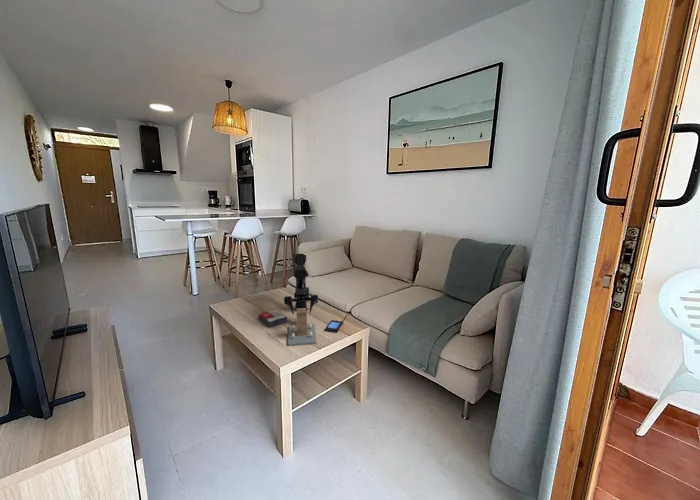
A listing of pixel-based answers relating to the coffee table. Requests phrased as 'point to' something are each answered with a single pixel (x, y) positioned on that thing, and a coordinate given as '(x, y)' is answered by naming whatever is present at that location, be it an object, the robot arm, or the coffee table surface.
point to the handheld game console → (334, 325)
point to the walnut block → (301, 322)
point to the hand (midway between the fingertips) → (301, 314)
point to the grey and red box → (272, 318)
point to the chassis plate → (301, 340)
